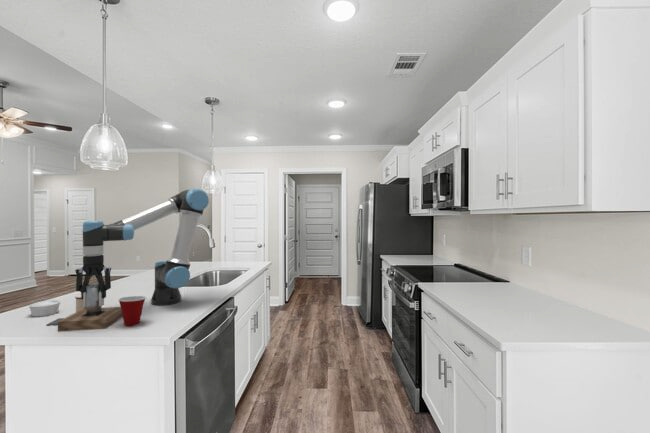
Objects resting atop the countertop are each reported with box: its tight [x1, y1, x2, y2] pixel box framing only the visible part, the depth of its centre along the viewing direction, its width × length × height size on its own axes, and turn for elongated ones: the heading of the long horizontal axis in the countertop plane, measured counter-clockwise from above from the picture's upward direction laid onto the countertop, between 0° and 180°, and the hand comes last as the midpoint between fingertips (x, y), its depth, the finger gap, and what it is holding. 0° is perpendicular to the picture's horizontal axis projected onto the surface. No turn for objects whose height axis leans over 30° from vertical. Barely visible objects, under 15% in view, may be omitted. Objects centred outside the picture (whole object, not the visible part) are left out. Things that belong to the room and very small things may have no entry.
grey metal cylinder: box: [86, 282, 103, 316], centre depth 139 cm, size 6×6×15 cm
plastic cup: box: [117, 295, 147, 327], centre depth 138 cm, size 11×11×12 cm
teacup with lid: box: [74, 293, 86, 313], centre depth 154 cm, size 12×9×12 cm
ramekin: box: [28, 299, 61, 318], centre depth 151 cm, size 11×11×5 cm
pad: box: [46, 317, 65, 327], centre depth 140 cm, size 8×8×1 cm
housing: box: [57, 306, 123, 332], centre depth 140 cm, size 18×18×4 cm
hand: (93, 305), depth 140 cm, fingers closed on grey metal cylinder, 6 cm apart
